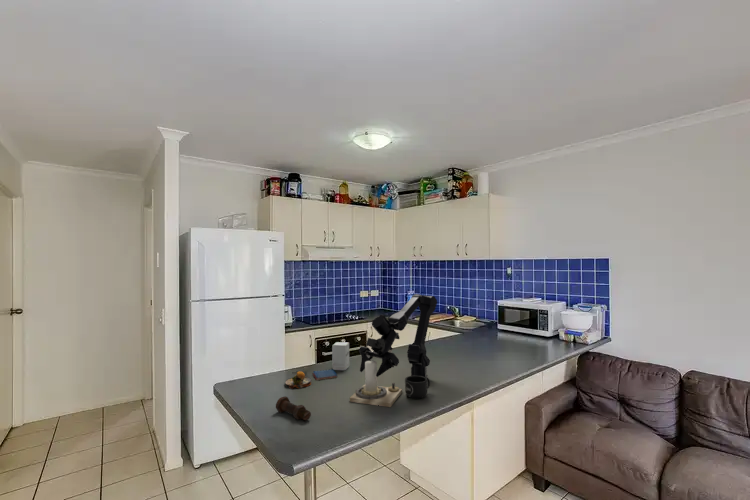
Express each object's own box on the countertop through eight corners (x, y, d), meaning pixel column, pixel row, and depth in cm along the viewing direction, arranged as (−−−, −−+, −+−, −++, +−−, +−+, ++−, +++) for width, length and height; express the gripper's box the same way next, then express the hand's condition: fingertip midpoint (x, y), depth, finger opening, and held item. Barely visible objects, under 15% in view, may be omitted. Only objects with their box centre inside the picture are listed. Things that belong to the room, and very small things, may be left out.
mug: (415, 402, 141) (415, 384, 141) (400, 395, 149) (400, 378, 149) (437, 395, 148) (437, 377, 148) (422, 389, 156) (421, 372, 156)
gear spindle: (379, 389, 152) (379, 359, 152) (381, 396, 144) (381, 364, 144) (361, 390, 151) (360, 359, 151) (362, 397, 143) (361, 365, 143)
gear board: (402, 392, 152) (401, 382, 152) (390, 407, 137) (390, 395, 137) (364, 387, 158) (364, 377, 158) (349, 401, 143) (349, 390, 143)
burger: (297, 378, 172) (297, 363, 172) (316, 382, 166) (316, 366, 166) (279, 386, 162) (278, 369, 162) (298, 391, 156) (298, 373, 156)
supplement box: (345, 370, 183) (345, 345, 183) (331, 369, 184) (331, 345, 185) (349, 366, 190) (349, 342, 190) (336, 365, 192) (336, 341, 192)
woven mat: (311, 375, 178) (311, 370, 178) (332, 372, 182) (332, 368, 182) (315, 381, 168) (315, 377, 168) (338, 379, 172) (337, 374, 172)
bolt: (306, 427, 125) (279, 414, 135) (315, 416, 129) (289, 404, 138) (299, 416, 123) (273, 403, 133) (309, 404, 126) (283, 393, 136)
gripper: (361, 327, 157) (342, 358, 149) (393, 333, 144) (375, 367, 136) (373, 342, 163) (356, 373, 154) (406, 349, 150) (389, 383, 142)
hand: (368, 373), depth 146 cm, fingers open, 9 cm apart
